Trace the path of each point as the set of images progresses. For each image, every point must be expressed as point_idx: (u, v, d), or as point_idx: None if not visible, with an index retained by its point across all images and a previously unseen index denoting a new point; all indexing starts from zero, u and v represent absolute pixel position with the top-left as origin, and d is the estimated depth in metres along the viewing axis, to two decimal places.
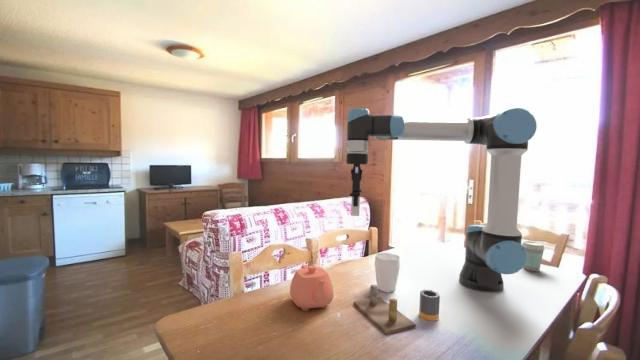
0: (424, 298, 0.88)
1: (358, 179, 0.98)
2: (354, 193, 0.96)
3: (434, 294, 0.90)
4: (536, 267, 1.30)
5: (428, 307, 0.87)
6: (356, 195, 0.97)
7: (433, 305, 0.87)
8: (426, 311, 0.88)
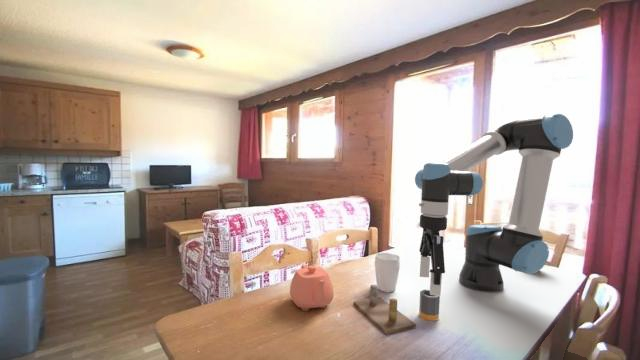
0: (424, 298, 0.88)
1: (441, 252, 0.81)
2: (438, 271, 0.79)
3: None
4: None
5: (428, 307, 0.87)
6: (439, 273, 0.80)
7: (433, 305, 0.87)
8: (426, 311, 0.88)
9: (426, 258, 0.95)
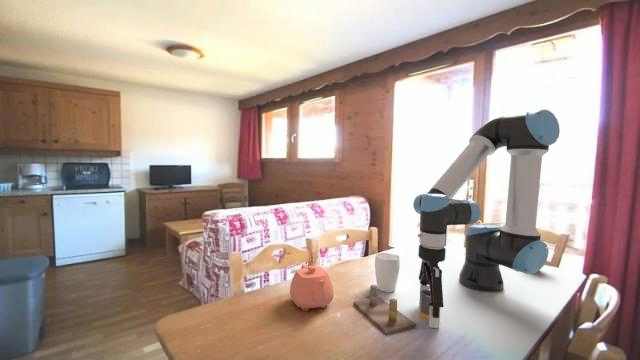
0: (424, 298, 0.88)
1: (440, 286, 0.81)
2: (436, 305, 0.80)
3: None
4: None
5: (428, 307, 0.87)
6: (438, 306, 0.81)
7: None
8: (426, 311, 0.88)
9: (425, 287, 0.96)
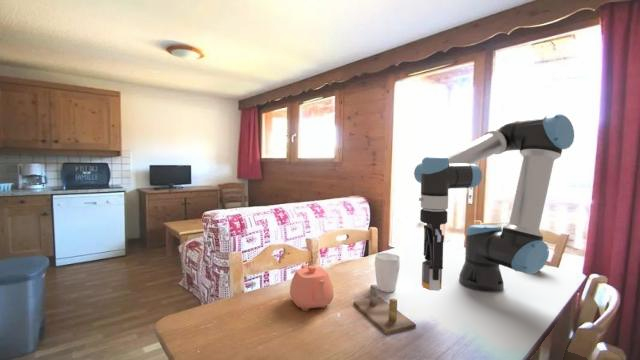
0: (426, 268, 0.88)
1: (441, 251, 0.83)
2: (436, 268, 0.83)
3: None
4: None
5: None
6: (438, 269, 0.84)
7: None
8: (428, 281, 0.87)
9: None
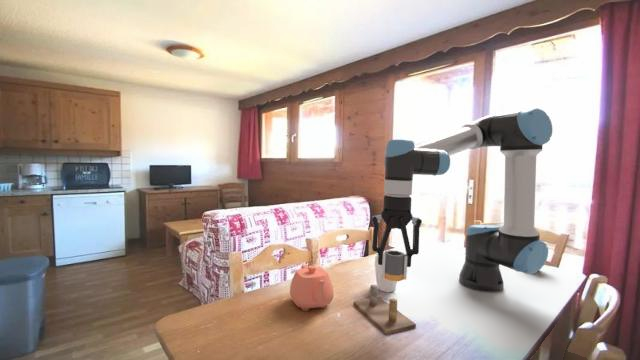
0: None
1: (373, 232, 0.84)
2: None
3: None
4: None
5: None
6: None
7: None
8: None
9: None
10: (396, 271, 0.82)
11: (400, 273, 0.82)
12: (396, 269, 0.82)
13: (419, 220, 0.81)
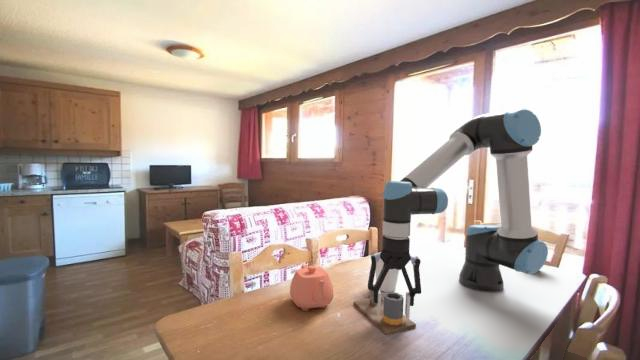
0: None
1: (370, 271, 0.84)
2: None
3: None
4: None
5: None
6: None
7: (384, 304, 0.85)
8: None
9: (406, 295, 0.84)
10: (395, 315, 0.82)
11: (399, 317, 0.83)
12: (395, 313, 0.82)
13: (418, 260, 0.82)
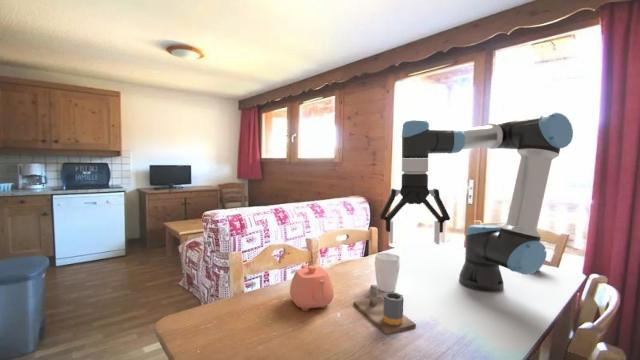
0: None
1: (387, 202, 0.90)
2: (380, 216, 0.91)
3: None
4: None
5: None
6: None
7: (384, 304, 0.85)
8: None
9: (436, 223, 0.89)
10: (395, 315, 0.82)
11: (399, 317, 0.83)
12: (395, 313, 0.82)
13: (436, 190, 0.88)
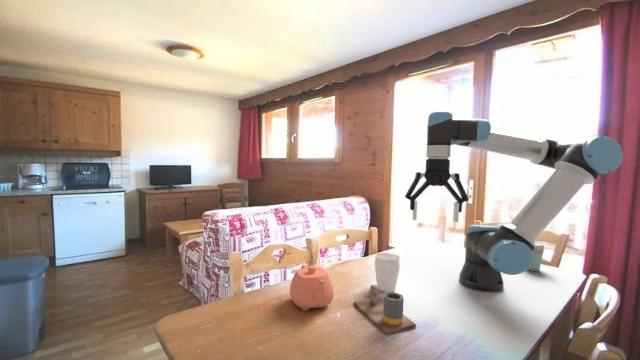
0: None
1: (412, 184, 1.01)
2: (405, 196, 1.03)
3: None
4: (536, 267, 1.30)
5: None
6: (407, 198, 1.02)
7: (384, 304, 0.85)
8: None
9: (455, 203, 1.00)
10: (395, 315, 0.82)
11: (399, 317, 0.83)
12: (395, 313, 0.82)
13: (457, 174, 0.99)
